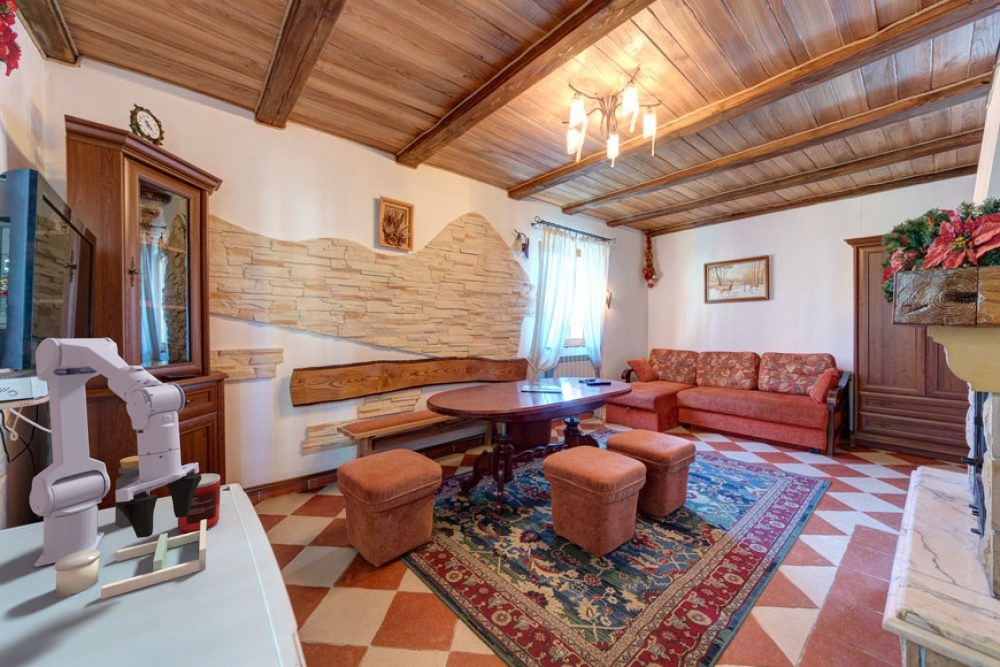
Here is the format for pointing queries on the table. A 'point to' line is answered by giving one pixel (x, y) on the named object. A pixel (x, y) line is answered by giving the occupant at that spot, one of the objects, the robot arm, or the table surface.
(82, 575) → the jar
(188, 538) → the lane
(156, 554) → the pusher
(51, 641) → the table surface
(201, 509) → the canned food
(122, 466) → the bottle
